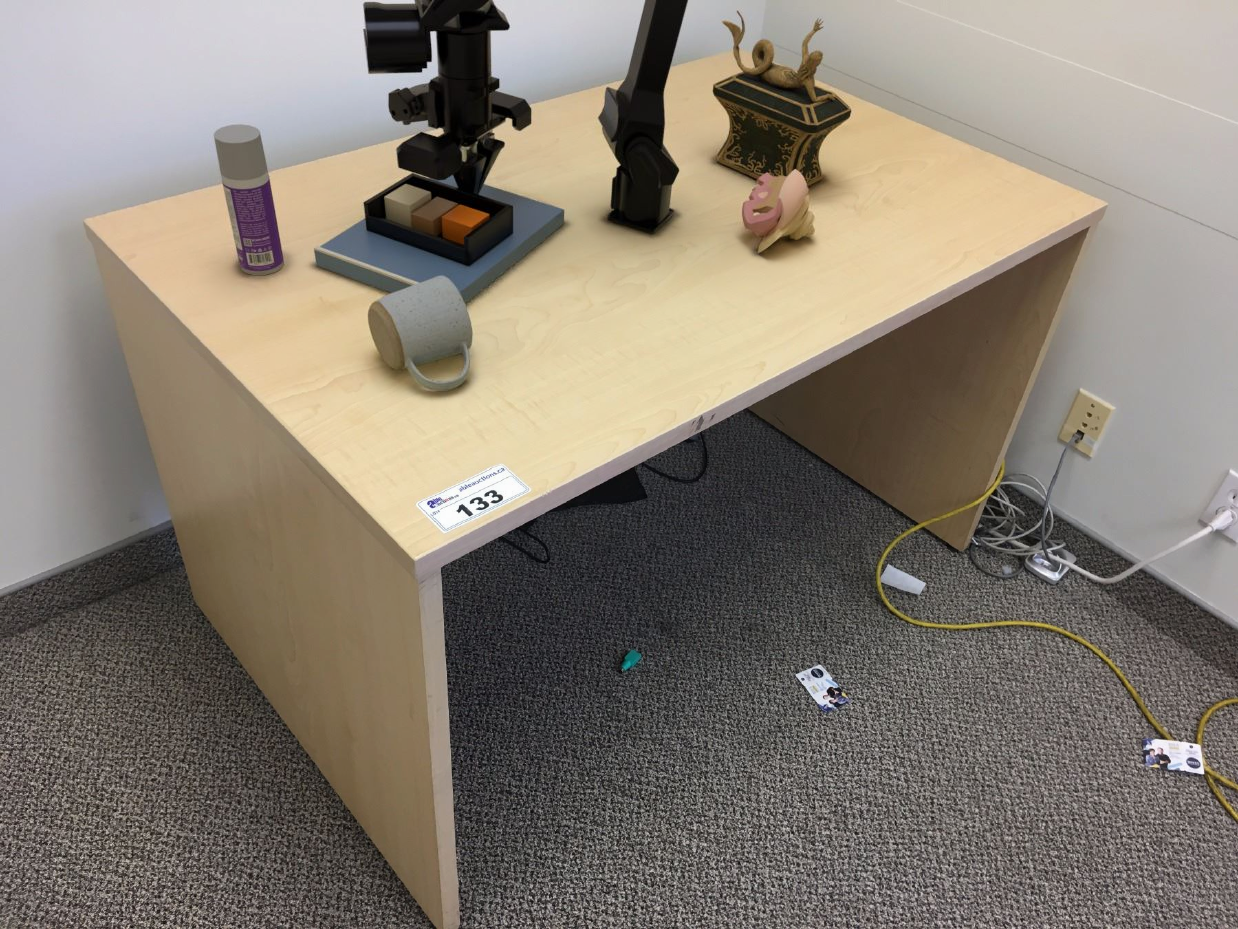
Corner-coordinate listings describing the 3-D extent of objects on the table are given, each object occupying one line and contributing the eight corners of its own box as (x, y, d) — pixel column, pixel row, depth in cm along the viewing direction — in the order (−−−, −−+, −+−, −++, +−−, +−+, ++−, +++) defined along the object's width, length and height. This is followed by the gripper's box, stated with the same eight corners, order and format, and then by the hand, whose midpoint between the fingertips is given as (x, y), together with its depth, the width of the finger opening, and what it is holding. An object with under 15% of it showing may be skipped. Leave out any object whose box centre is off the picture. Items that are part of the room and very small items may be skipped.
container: (292, 259, 112) (270, 129, 102) (268, 279, 108) (243, 147, 98) (256, 249, 113) (231, 120, 103) (231, 269, 109) (202, 137, 99)
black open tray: (513, 233, 115) (513, 205, 113) (469, 266, 109) (468, 238, 107) (414, 199, 120) (412, 172, 117) (366, 230, 114) (363, 202, 111)
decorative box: (839, 180, 136) (873, 31, 123) (798, 201, 131) (830, 48, 118) (724, 131, 146) (745, -12, 133) (682, 149, 140) (699, 1, 127)
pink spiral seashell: (802, 222, 128) (848, 197, 119) (770, 284, 125) (815, 263, 116) (748, 178, 125) (791, 149, 116) (714, 241, 122) (755, 216, 113)
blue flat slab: (564, 224, 122) (564, 206, 120) (451, 315, 106) (450, 296, 104) (441, 184, 127) (440, 167, 126) (316, 265, 111) (313, 247, 109)
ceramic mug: (366, 348, 100) (359, 282, 95) (439, 325, 104) (436, 261, 99) (416, 406, 94) (411, 340, 89) (491, 380, 98) (491, 314, 93)
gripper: (452, 29, 116) (458, 156, 127) (348, 78, 104) (364, 215, 114) (534, 51, 113) (533, 179, 123) (437, 105, 100) (445, 243, 111)
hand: (469, 202), depth 118 cm, fingers closed
